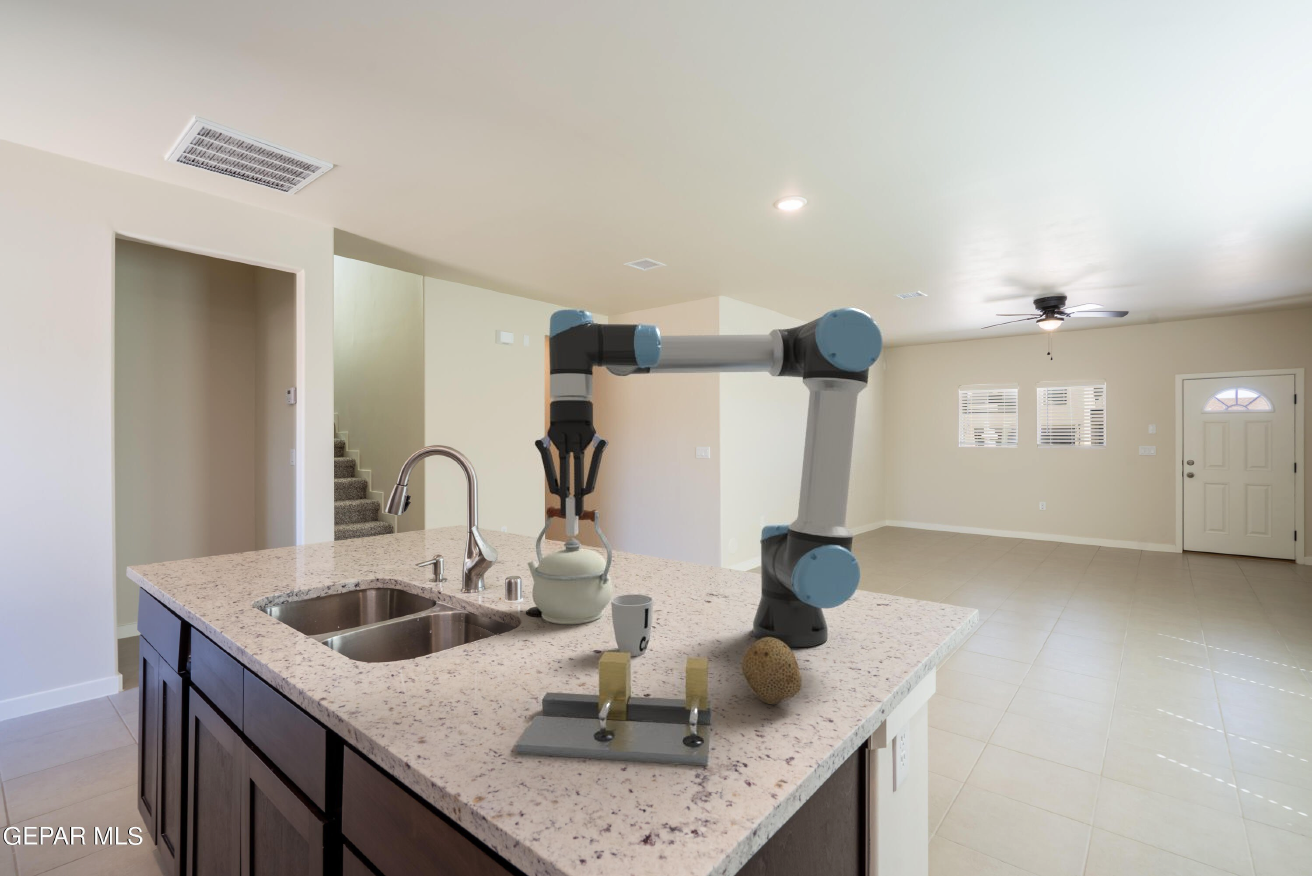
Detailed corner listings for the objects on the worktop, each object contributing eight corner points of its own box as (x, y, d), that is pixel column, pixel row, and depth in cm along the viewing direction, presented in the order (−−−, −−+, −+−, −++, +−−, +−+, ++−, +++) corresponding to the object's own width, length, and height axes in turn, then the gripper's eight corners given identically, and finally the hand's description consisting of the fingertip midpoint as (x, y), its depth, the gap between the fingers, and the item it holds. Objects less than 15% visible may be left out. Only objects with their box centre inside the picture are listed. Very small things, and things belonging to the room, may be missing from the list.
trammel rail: (711, 714, 89) (711, 658, 89) (708, 753, 79) (708, 689, 79) (548, 705, 93) (548, 651, 93) (524, 741, 82) (523, 680, 82)
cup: (648, 660, 111) (648, 606, 111) (606, 657, 113) (606, 604, 113) (657, 645, 119) (657, 595, 119) (617, 642, 121) (617, 593, 121)
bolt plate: (709, 734, 84) (709, 725, 84) (707, 765, 76) (707, 755, 76) (536, 724, 87) (536, 715, 87) (516, 753, 79) (516, 743, 79)
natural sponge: (738, 688, 98) (738, 628, 98) (793, 689, 98) (793, 628, 98) (745, 714, 89) (744, 647, 89) (805, 715, 89) (805, 648, 89)
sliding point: (631, 705, 91) (630, 652, 91) (616, 743, 80) (616, 682, 80) (605, 704, 92) (605, 650, 92) (587, 741, 81) (587, 681, 81)
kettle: (634, 612, 141) (633, 506, 141) (584, 634, 126) (583, 515, 125) (553, 597, 154) (553, 501, 154) (500, 615, 139) (499, 508, 139)
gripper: (612, 400, 108) (612, 531, 108) (541, 401, 110) (542, 530, 110) (603, 398, 101) (604, 538, 101) (528, 399, 102) (529, 537, 102)
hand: (572, 534), depth 105 cm, fingers closed
